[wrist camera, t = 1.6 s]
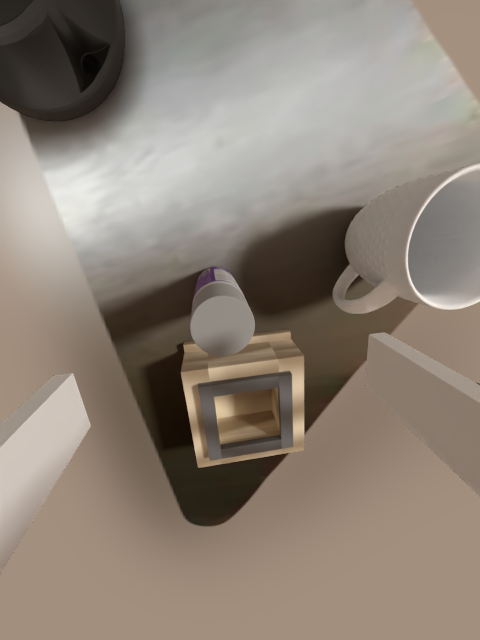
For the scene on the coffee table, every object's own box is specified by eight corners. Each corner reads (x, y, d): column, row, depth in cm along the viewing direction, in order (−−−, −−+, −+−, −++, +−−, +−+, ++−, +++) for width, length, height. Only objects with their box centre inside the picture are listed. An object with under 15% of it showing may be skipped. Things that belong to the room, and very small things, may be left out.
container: (203, 307, 32) (199, 365, 18) (191, 271, 31) (178, 304, 17) (238, 298, 32) (263, 348, 18) (229, 261, 31) (248, 285, 17)
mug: (342, 320, 35) (415, 366, 23) (288, 267, 32) (338, 288, 20) (427, 235, 33) (559, 236, 20) (377, 168, 29) (499, 121, 17)
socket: (184, 342, 33) (178, 367, 27) (288, 329, 35) (306, 350, 28) (200, 438, 39) (199, 479, 32) (290, 424, 40) (306, 461, 33)
